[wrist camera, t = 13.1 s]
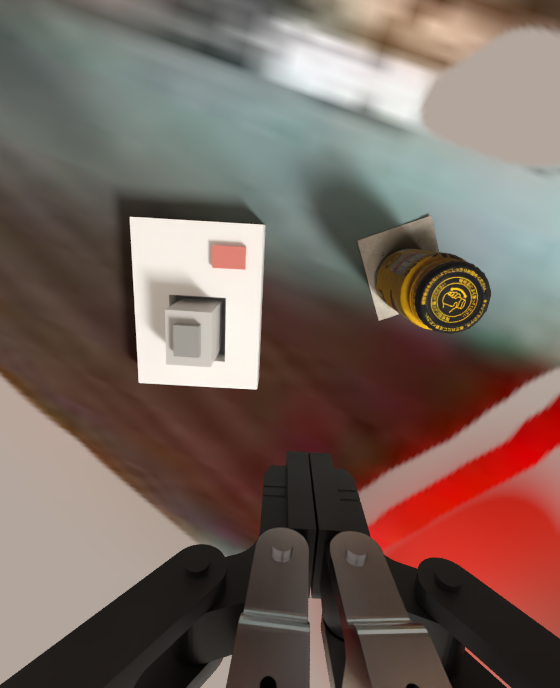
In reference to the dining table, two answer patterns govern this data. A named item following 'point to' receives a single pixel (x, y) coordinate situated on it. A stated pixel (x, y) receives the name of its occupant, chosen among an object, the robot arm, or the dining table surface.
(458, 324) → the condiment
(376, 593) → the robot arm
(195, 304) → the plug
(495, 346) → the dining table surface
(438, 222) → the dining table surface
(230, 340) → the socket plate
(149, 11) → the dining table surface
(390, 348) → the dining table surface
